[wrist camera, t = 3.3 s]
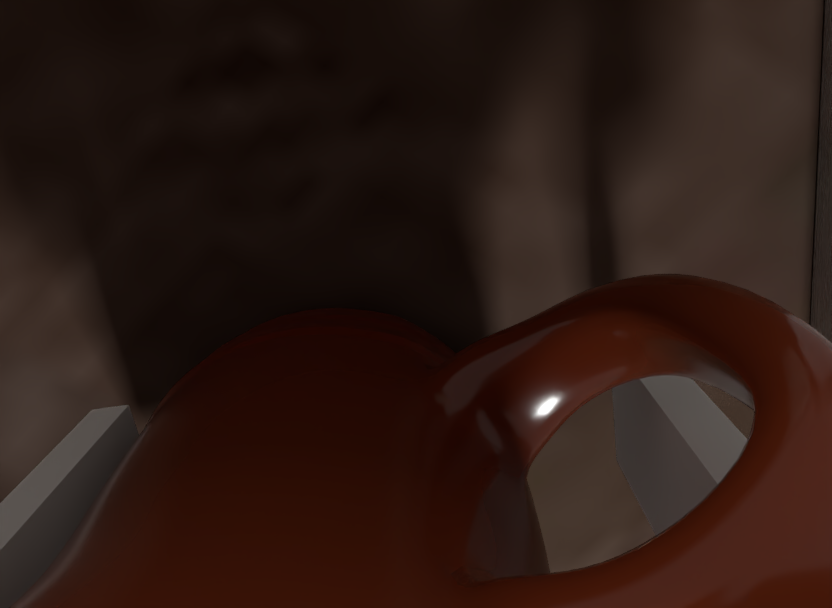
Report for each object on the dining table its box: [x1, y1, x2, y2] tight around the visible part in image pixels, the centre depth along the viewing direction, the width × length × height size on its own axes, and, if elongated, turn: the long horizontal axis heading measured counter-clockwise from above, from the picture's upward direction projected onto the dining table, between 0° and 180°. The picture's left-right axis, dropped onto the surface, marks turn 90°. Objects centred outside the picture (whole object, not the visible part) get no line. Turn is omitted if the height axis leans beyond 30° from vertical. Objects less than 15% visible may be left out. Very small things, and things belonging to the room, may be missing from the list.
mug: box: [9, 274, 832, 608], centre depth 10 cm, size 12×9×10 cm
